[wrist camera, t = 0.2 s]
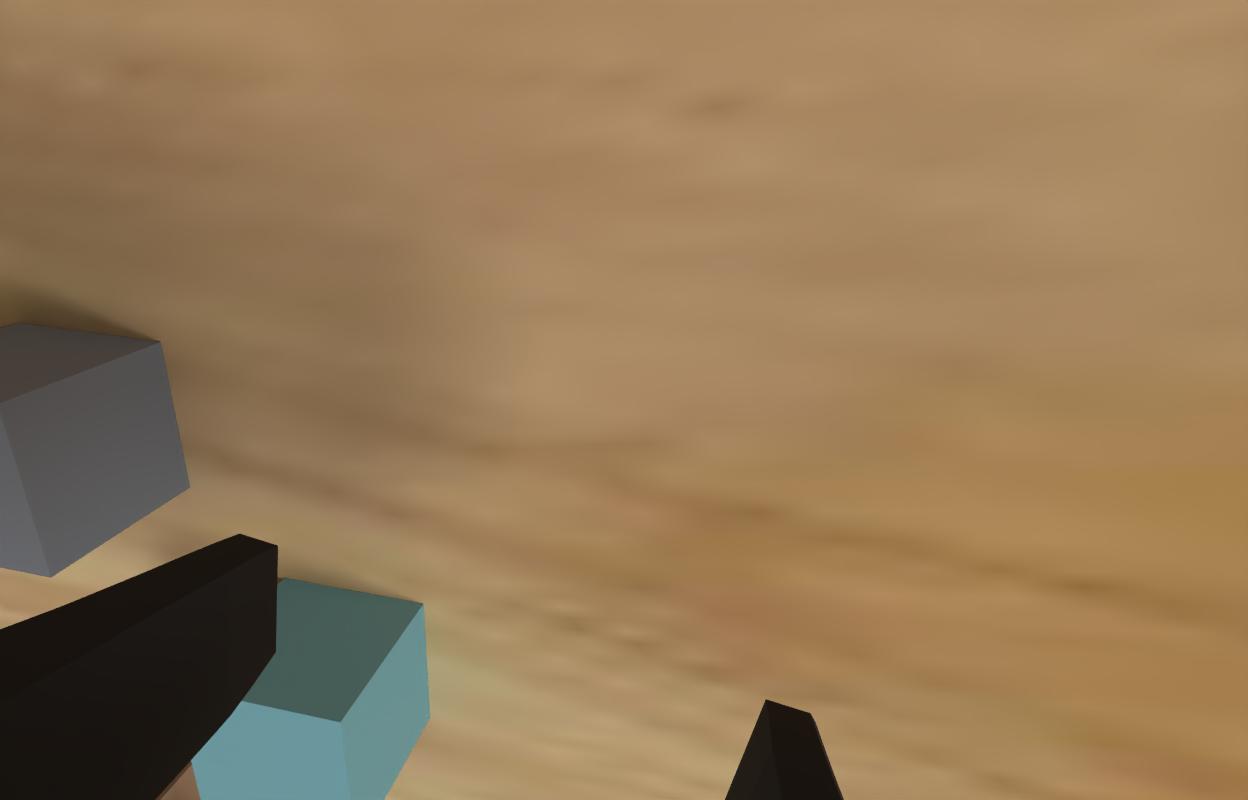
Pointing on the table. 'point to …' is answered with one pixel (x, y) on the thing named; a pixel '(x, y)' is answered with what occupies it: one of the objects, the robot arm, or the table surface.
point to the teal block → (325, 702)
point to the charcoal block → (80, 442)
